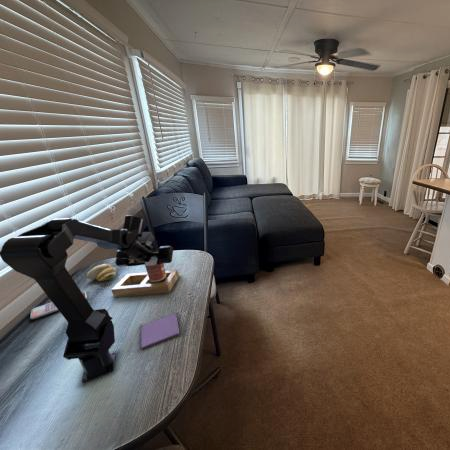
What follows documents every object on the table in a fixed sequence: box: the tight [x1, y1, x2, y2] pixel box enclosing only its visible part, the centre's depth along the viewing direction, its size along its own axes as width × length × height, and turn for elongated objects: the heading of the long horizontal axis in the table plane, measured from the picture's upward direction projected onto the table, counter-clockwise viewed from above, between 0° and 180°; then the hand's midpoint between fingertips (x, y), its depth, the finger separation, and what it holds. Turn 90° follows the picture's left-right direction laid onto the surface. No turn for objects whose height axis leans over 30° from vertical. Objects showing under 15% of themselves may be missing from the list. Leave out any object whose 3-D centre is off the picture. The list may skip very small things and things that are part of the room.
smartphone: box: [29, 290, 88, 320], centre depth 88 cm, size 7×1×15 cm
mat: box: [140, 313, 180, 349], centre depth 75 cm, size 10×10×1 cm
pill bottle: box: [144, 257, 167, 283], centre depth 95 cm, size 6×6×11 cm
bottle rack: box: [110, 269, 180, 298], centre depth 97 cm, size 11×20×4 cm, turn 97°
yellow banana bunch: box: [86, 263, 117, 282], centre depth 104 cm, size 10×6×15 cm
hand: (155, 262), depth 96 cm, fingers closed on pill bottle, 6 cm apart
